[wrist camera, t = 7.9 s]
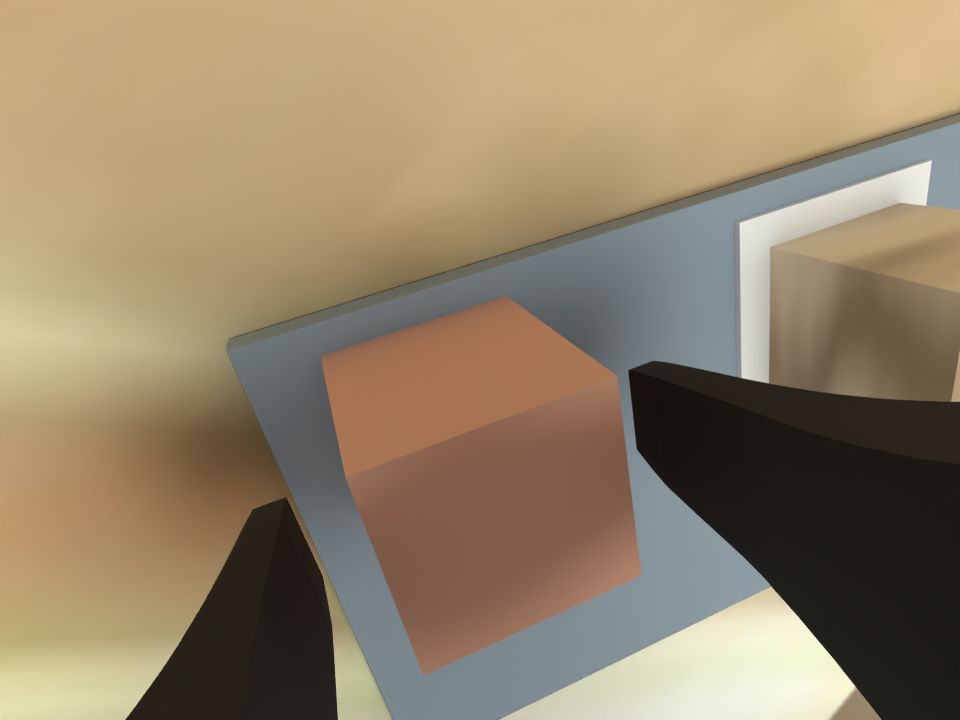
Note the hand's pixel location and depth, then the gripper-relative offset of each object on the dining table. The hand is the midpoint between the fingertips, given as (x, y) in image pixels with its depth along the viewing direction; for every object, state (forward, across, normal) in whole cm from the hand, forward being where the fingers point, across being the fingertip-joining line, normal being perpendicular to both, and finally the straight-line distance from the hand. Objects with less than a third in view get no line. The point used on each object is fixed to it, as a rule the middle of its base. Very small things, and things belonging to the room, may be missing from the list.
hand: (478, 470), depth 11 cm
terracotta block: (+3, 0, 0) cm, 3 cm away
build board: (+4, -7, +5) cm, 9 cm away
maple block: (+3, -12, +1) cm, 12 cm away
